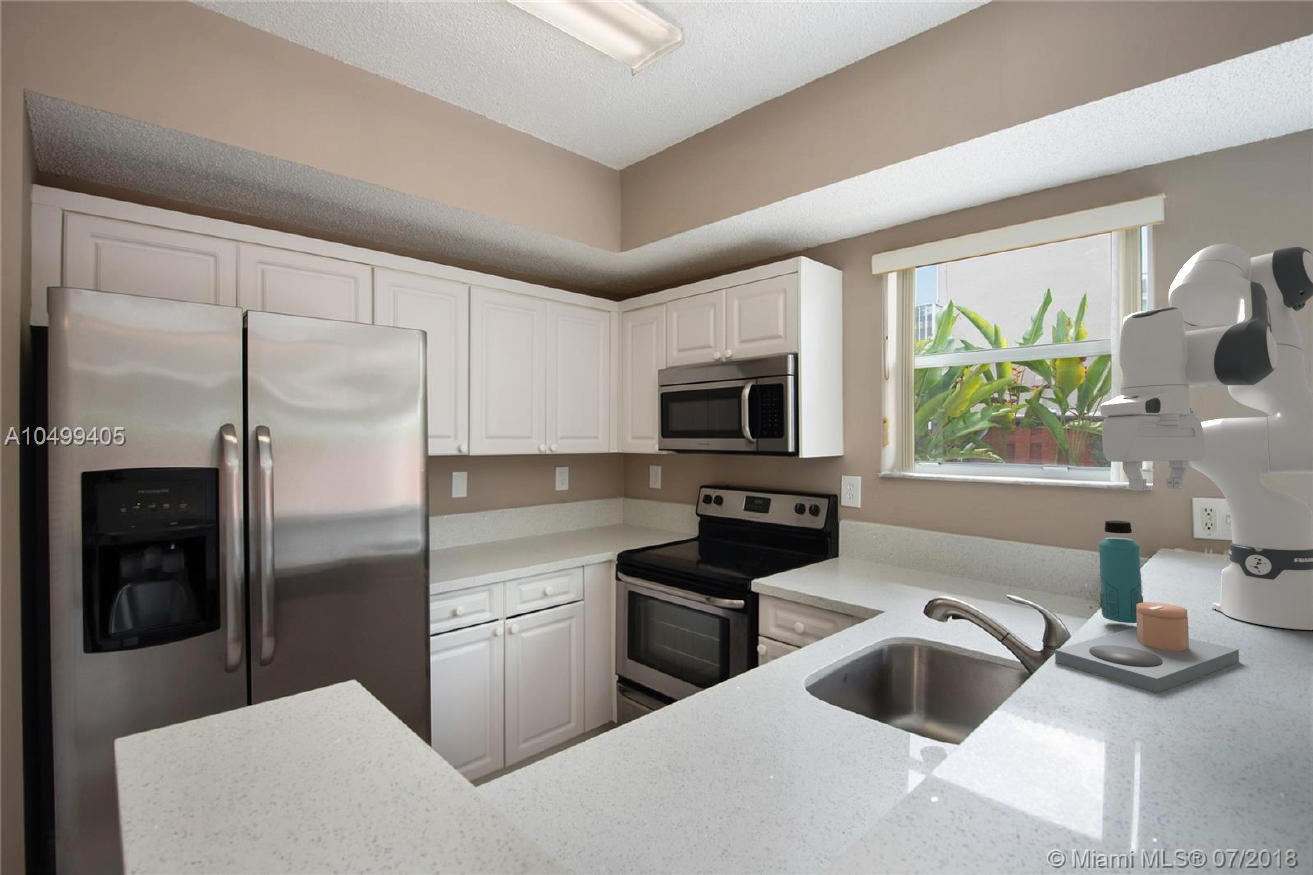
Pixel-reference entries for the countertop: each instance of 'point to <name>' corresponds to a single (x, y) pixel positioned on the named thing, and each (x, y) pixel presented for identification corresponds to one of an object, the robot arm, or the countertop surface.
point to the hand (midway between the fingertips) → (1156, 489)
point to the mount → (1145, 660)
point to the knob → (1162, 626)
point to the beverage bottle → (1120, 574)
